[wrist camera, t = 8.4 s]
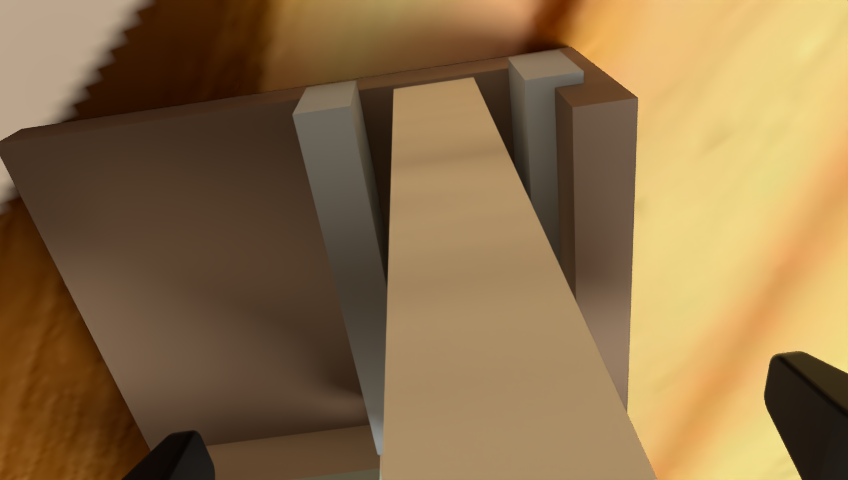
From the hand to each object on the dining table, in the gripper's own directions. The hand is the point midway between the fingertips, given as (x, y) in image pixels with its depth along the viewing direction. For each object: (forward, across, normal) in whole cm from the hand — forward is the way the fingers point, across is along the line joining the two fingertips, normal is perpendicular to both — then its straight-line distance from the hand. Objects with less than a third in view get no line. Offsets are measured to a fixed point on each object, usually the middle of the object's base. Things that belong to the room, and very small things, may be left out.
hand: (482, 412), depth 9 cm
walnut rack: (+6, +3, +4) cm, 8 cm away
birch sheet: (+5, 0, 0) cm, 5 cm away
